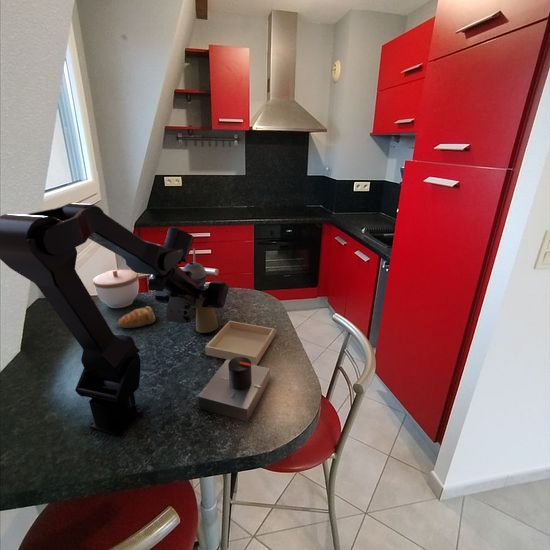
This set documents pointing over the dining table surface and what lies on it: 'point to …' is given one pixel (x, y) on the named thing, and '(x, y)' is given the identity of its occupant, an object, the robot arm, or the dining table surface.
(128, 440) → the dining table surface
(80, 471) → the dining table surface
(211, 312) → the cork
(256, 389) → the stove panel
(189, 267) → the beverage cup
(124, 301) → the lidded bowl
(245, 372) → the stove knob
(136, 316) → the pastry
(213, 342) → the wooden tray
